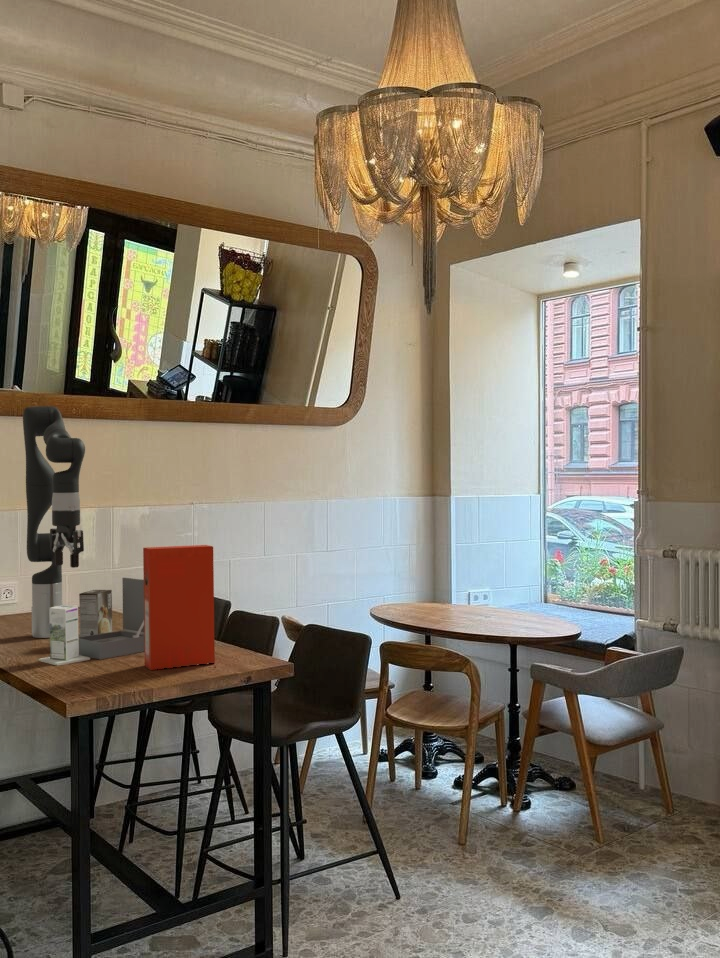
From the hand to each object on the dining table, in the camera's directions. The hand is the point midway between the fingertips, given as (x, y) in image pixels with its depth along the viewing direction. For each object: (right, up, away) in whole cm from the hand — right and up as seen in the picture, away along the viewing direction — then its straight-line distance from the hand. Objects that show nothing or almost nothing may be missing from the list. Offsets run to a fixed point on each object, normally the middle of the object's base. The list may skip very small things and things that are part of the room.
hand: (66, 566), depth 250 cm
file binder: (+34, -26, -9) cm, 43 cm away
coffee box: (+1, -26, +24) cm, 36 cm away
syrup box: (0, -26, -2) cm, 26 cm away
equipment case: (+10, -26, +9) cm, 29 cm away
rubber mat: (0, -26, -2) cm, 26 cm away
